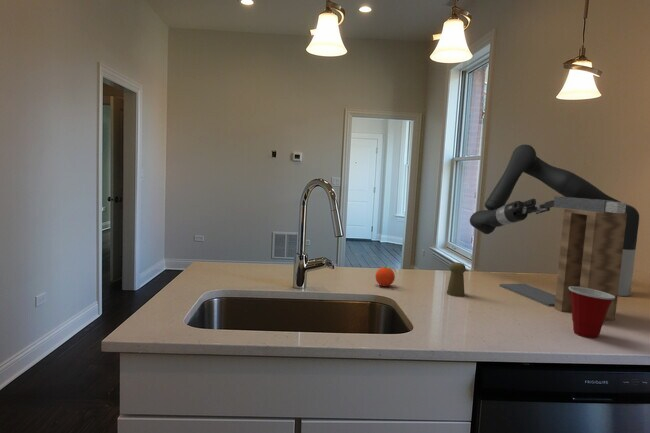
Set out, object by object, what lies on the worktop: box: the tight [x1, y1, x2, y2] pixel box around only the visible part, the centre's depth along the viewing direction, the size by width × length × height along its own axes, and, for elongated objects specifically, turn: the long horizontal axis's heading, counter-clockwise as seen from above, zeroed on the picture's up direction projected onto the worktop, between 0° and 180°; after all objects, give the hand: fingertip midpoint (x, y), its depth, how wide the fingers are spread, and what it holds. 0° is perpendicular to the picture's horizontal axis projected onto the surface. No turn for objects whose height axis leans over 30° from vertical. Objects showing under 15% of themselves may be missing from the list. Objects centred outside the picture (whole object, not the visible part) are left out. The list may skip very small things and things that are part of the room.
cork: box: [446, 262, 467, 298], centre depth 154 cm, size 6×6×11 cm
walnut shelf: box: [553, 208, 627, 321], centre depth 136 cm, size 11×12×32 cm
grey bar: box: [552, 196, 627, 213], centre depth 137 cm, size 4×24×4 cm, turn 14°
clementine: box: [375, 266, 397, 287], centre depth 161 cm, size 8×7×7 cm
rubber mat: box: [499, 283, 556, 307], centre depth 158 cm, size 11×26×1 cm, turn 14°
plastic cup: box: [569, 286, 615, 339], centre depth 118 cm, size 11×11×12 cm
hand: (544, 202), depth 155 cm, fingers open, 8 cm apart
